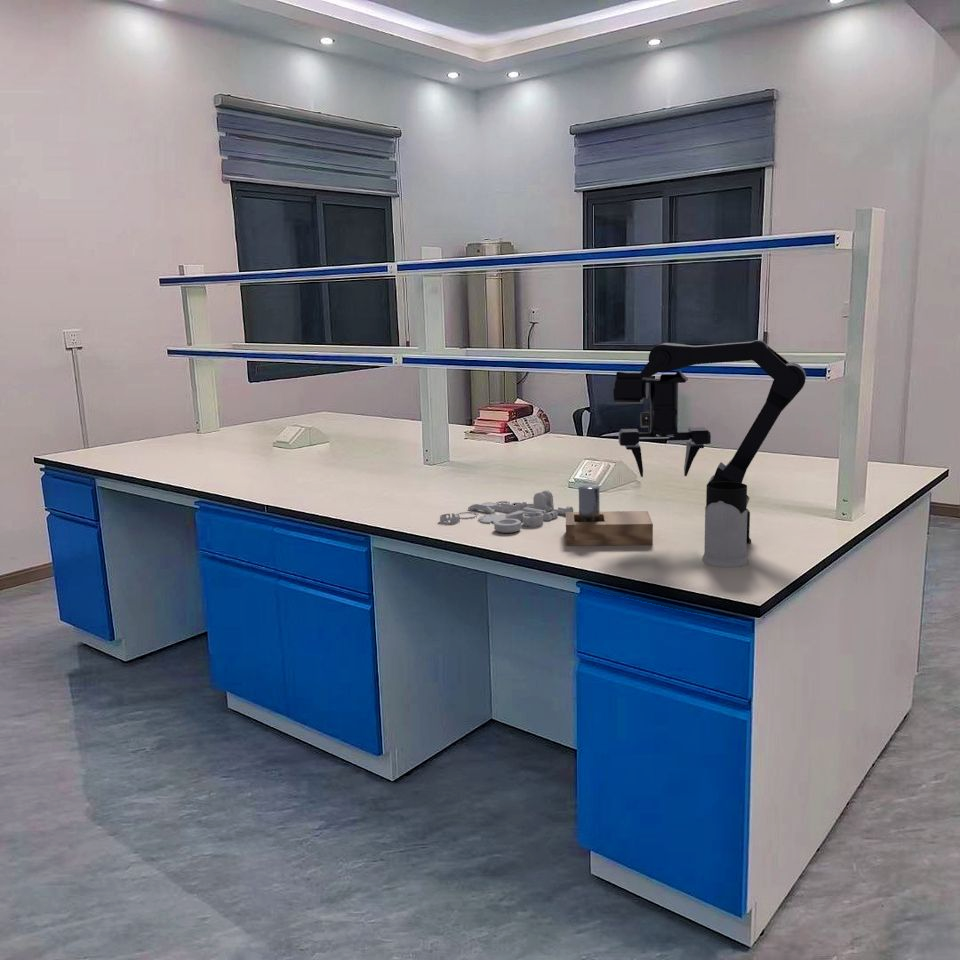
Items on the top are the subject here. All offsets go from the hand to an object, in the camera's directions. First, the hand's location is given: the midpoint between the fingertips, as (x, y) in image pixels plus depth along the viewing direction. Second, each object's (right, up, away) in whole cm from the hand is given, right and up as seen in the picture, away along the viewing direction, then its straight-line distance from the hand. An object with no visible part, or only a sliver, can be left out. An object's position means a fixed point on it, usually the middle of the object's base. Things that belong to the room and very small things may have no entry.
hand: (663, 476), depth 185 cm
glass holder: (+10, -16, -14) cm, 24 cm away
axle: (-16, -12, +2) cm, 20 cm away
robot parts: (-34, -11, +23) cm, 42 cm away
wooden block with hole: (-12, -13, +2) cm, 18 cm away
